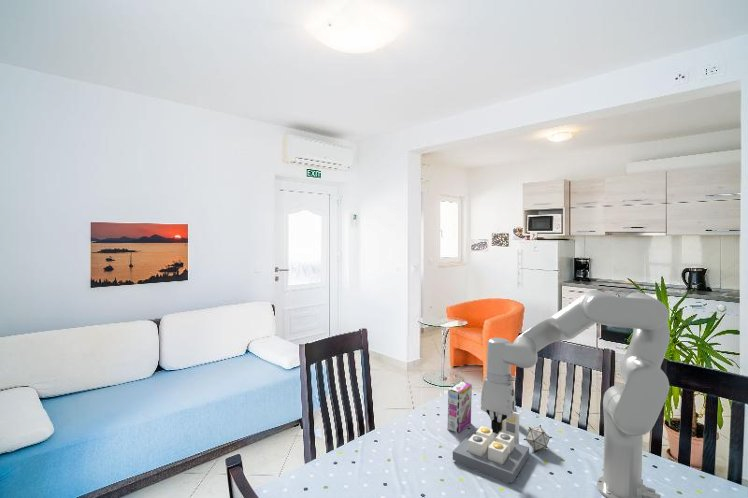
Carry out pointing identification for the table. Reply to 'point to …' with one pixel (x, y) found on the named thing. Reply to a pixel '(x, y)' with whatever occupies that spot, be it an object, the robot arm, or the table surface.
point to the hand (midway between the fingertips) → (496, 431)
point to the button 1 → (486, 434)
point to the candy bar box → (459, 407)
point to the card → (510, 427)
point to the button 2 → (477, 445)
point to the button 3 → (506, 441)
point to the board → (491, 467)
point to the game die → (537, 438)
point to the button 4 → (498, 452)
